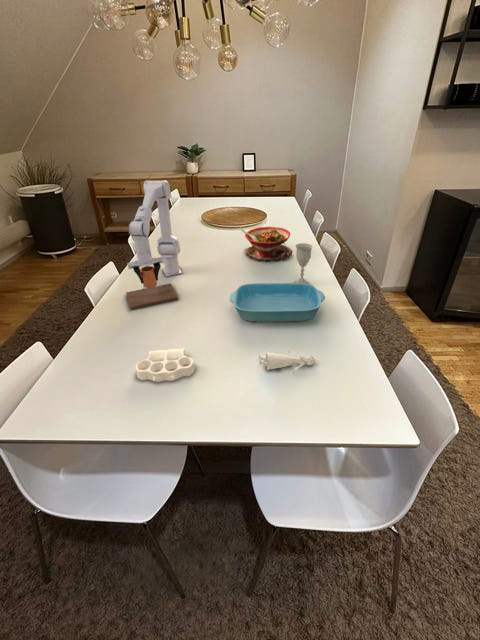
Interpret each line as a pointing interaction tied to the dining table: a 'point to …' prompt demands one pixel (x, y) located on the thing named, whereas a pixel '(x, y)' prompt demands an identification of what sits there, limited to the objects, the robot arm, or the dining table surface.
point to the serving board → (151, 296)
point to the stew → (268, 243)
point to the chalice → (303, 258)
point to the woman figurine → (284, 360)
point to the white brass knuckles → (165, 365)
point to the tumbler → (148, 276)
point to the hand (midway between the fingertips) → (149, 281)
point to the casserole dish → (277, 301)
